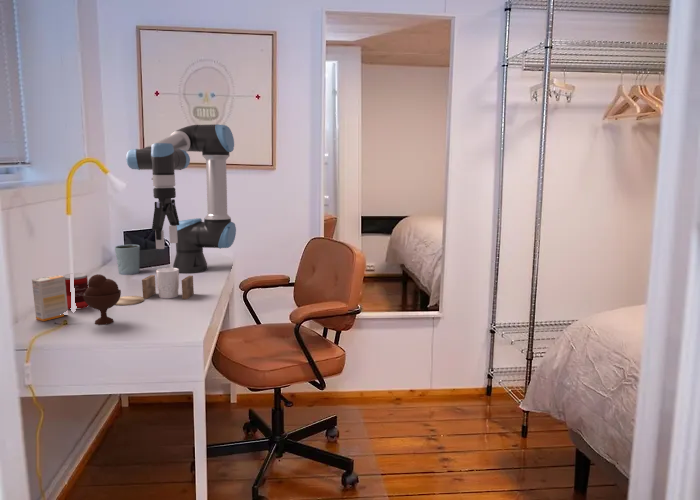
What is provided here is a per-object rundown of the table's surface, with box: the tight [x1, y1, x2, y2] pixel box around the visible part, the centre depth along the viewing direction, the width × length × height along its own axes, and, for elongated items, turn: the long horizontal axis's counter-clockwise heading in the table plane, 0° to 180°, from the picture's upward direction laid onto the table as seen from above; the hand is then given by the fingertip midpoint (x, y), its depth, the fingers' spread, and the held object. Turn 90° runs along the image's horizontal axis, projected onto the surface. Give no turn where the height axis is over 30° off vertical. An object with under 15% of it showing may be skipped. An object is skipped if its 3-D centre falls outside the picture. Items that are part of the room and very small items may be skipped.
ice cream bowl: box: [83, 273, 122, 326], centre depth 170 cm, size 11×11×15 cm
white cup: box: [155, 267, 180, 299], centre depth 202 cm, size 8×8×10 cm
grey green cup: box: [114, 244, 141, 276], centre depth 243 cm, size 10×10×12 cm
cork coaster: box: [114, 295, 145, 306], centre depth 196 cm, size 11×11×1 cm
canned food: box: [62, 272, 90, 310], centre depth 187 cm, size 8×8×11 cm
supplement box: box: [31, 274, 69, 322], centre depth 175 cm, size 8×5×13 cm, turn 145°
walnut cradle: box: [141, 274, 195, 300], centre depth 202 cm, size 8×16×7 cm, turn 87°
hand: (167, 245), depth 200 cm, fingers open, 13 cm apart
